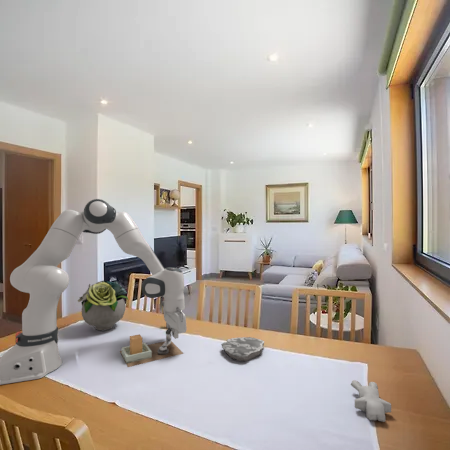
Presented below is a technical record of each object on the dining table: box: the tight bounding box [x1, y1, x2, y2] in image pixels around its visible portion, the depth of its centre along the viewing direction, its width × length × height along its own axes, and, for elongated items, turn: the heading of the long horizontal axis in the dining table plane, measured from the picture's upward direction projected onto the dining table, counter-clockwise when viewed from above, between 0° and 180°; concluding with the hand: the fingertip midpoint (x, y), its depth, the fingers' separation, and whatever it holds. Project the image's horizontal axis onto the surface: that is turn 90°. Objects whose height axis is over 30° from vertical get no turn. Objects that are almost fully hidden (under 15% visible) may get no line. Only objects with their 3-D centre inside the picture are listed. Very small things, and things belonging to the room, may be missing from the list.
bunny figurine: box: [350, 379, 392, 422], centre depth 86 cm, size 10×5×15 cm
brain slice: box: [220, 336, 265, 362], centre depth 123 cm, size 20×17×3 cm
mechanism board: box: [119, 340, 185, 368], centre depth 120 cm, size 22×16×2 cm
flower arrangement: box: [77, 280, 130, 331], centre depth 153 cm, size 25×25×24 cm
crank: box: [159, 328, 172, 352], centre depth 124 cm, size 11×3×6 cm, turn 173°
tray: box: [121, 342, 152, 365], centre depth 117 cm, size 10×10×2 cm
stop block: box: [129, 334, 143, 355], centre depth 117 cm, size 4×4×7 cm
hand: (175, 337), depth 127 cm, fingers closed
